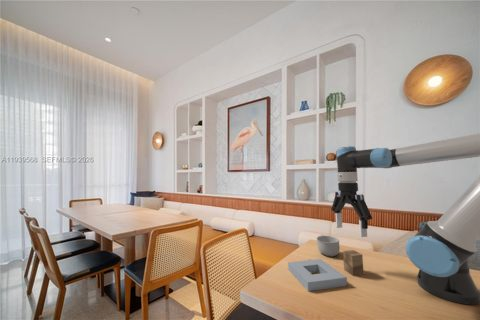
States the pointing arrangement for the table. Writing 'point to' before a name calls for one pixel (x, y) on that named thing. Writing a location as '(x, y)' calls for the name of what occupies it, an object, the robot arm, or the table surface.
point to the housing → (316, 281)
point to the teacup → (328, 245)
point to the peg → (353, 262)
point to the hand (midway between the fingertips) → (350, 231)
